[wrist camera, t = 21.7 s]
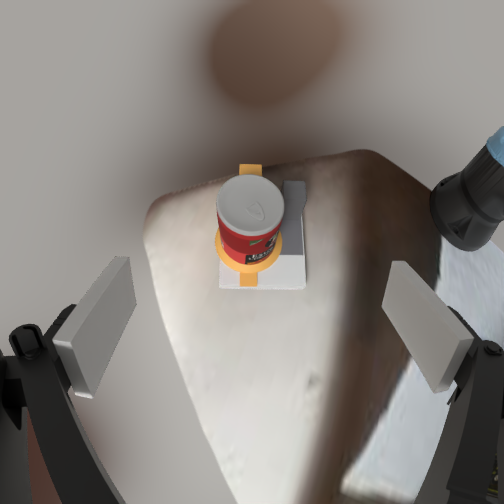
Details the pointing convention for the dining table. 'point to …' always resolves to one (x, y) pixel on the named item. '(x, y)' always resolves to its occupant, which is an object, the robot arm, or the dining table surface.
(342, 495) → the dining table surface
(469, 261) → the dining table surface
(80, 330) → the robot arm
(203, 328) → the dining table surface
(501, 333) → the dining table surface
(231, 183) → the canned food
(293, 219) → the orange knob base plate
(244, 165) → the lever
